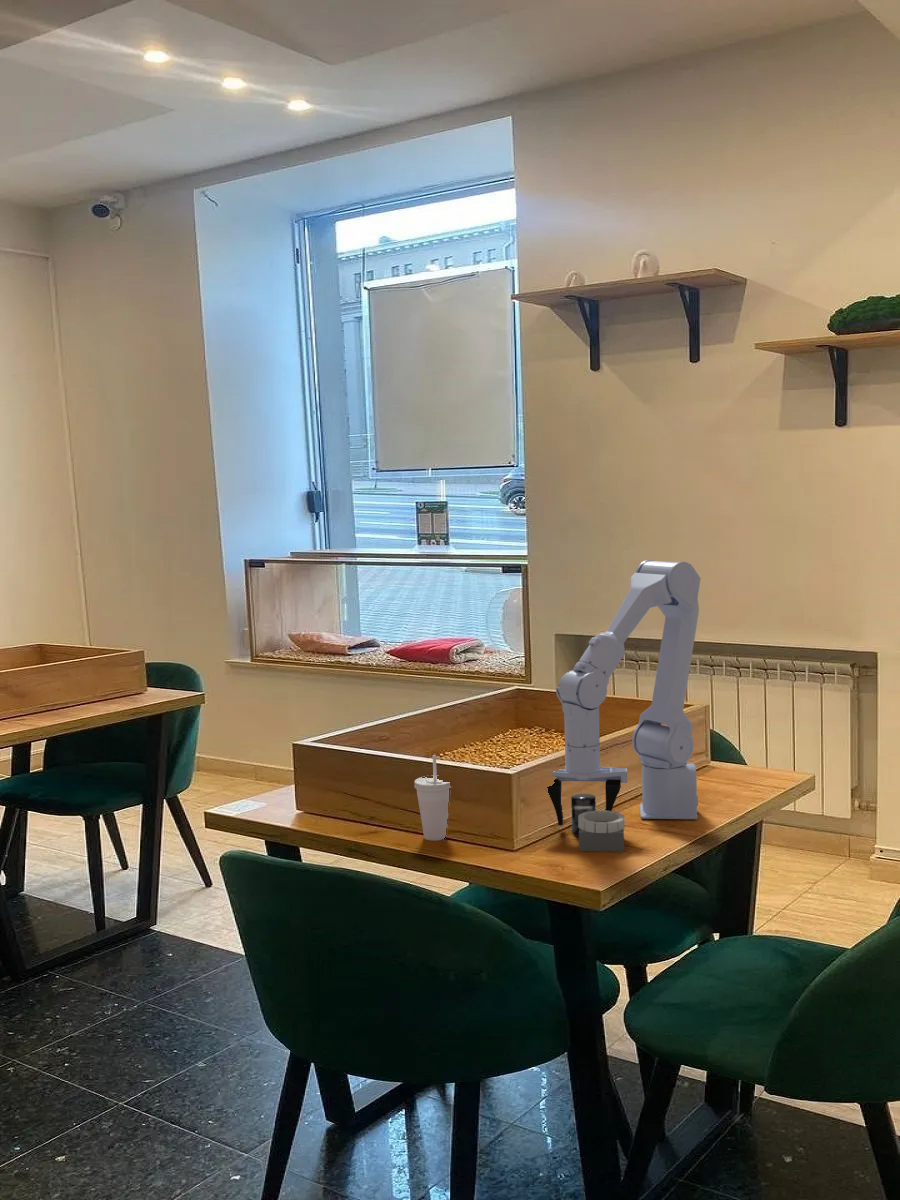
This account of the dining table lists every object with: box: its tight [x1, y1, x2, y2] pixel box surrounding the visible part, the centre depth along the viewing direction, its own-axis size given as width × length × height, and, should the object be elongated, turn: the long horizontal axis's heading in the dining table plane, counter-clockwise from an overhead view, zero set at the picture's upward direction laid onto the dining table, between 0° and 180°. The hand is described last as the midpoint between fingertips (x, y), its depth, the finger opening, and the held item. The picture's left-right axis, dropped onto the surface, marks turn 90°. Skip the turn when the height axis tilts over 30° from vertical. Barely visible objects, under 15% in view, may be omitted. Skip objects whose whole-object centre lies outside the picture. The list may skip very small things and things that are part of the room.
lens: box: [570, 793, 597, 837], centre depth 188 cm, size 4×4×6 cm
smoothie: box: [414, 754, 452, 842], centre depth 187 cm, size 6×6×14 cm
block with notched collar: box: [578, 809, 626, 853], centre depth 181 cm, size 7×7×4 cm
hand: (583, 823), depth 188 cm, fingers open, 7 cm apart
